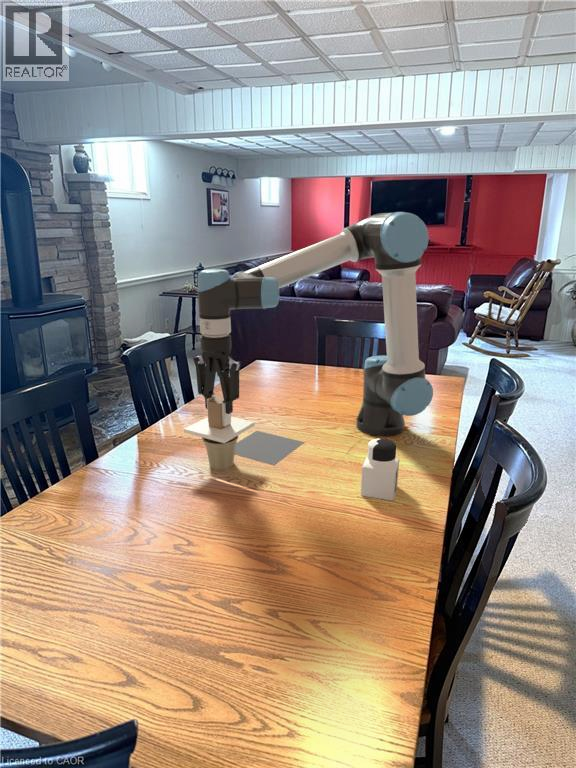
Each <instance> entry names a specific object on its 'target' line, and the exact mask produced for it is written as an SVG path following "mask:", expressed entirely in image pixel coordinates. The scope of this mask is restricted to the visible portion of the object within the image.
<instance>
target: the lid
mask: <svg viewBox="0 0 576 768" xmlns="http://www.w3.org/2000/svg"><path fill="white" fill-rule="evenodd" d="M222 401H224V398H223V397H221V396H216V397H215V398H213V399H211V400H209V401H208V411H207V417H205V418H203V419H201V420H198V421H196V422H195V423H193V424H191V425H189V426H186V427H184V428H183V433H184V434H187V435H192V436H195V437H200V438H202V437H203V438H207V439H210V440H214V441H218V442H221V443H226V442H228V441H229V440H231V439H233V438H234V437H236V436H238V437H239V435H241V434H243V433H244V432H247V431H248V430H250V429H251V428H253V427H255V421H253V420H252V421H251V420H248V419H242V418H239V417H234V416H231V423H230V424H229V425H227V426H223V424H222V403H221V402H222ZM208 420H209V423H208Z"/></svg>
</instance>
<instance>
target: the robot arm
mask: <svg viewBox="0 0 576 768" xmlns="http://www.w3.org/2000/svg"><path fill="white" fill-rule="evenodd" d="M429 239H430V238H429V231H428V227H427V225H426V223H425V222H424V221H423V220H422V219H421V218H420V217H419V216H418V215H416V214H414V213H411V212H406V211H395V212H380V213H376V214H373V215H370V216H368V217H366V218H365V219H362V220H360V221H358V222H355V223H353V224H351V225H349V226H346V227H344V228H342V229H341V232H340V234H336V235H334V236H331V237H329V238H327V239H324V240H321V241H319V242H317V243H314V244H312V245H308V246H307V247H304V248H301V249H298V250H296V251H293V252H291V253H289V254H285V255H283V256H281V257H279V258H275V259H274V260H271V261H269V262H265V263H263V264H261V265H259V266H256V267H253V268H250V269H248V270H241V271H238V272H235V273H234V274H233V275H232V276H231V277H230V272H229V271H228V270H226V269H217V268H214V269H212V268H211V269H203V270H200V271H199V272H198V273H197V290H196V291H197V302H198V314H199V316H198V318H199V333H200V334H201V335H200V336H199V339H200V350H201V351H202V352H201V355H197V356H194V357H193V359H192V360H193V363H194V366H195V373H196V383H197V384H196V386H197V393H198V395H202V396H203V398H204V405H205V409H206V410H207V412H208V401H209V400H211V399H213V398H215V397H217V396H215V394H216V393H215V392H214V391H215V390H214V388H215V381H216V375H217V376H218V378H219V383H220V387H221V393H222V396H223V397H222V398H224V401H222V402H221V403H222V424H223V426H227V425H229V424H230V423H231V417H232V413H233V410H234V408H233V407H234V405H233V404H234V401H236V400H238V399H240V370H241V367H242V362H241V361H235V360H234V359H233V357H232V354H231V350H232V336H231V332H232V325H231V324H232V322H231V320H232V319H231V310H244V309H245V310H250V309H263V310H266V309H269V308H270V309H271V308H275V307H277V306H278V304H279V301H280V289H281V288H284V287H286V286H289V285H291V284H294V283H297V282H299V281H301V280H304V279H306V278H309V277H311V276H314V275H317V274H319V273H321V272H324V271H327V270H329V269H331V268H334V267H336V266H339V265H341V264H343V263H346V262H349V261H351V262H353V263H356V262H359V261H360V260H361V261H362V260H366V259H372V258H374V264H375V271H376V272H378V273H379V274H380V275H381V281H382V282H381V283H382V284H381V285H382V296H383V297H382V298H383V299H382V301H383V302H382V303H383V314H384V316H383V317H384V329H385V332H384V333H385V345H386V346H385V347H386V355H375V356H374V355H373V356H370V357H367V358H366V359H365V361H364V368H363V391H362V404H361V407H360V409H359V411H358V414H357V417H356V422H355V426H356V429H358V430H359V431H360V432H361V433H365V434H367V435H370V436H371V435H372V436H378V437H389V436H390V437H391V436H396V435H400V434H402V433H403V432H404V431H405V425H406V424H405V423H406V422H405V417H406V416H407V417H412V416H416V415H419V414H420V413H423V412H424V411H425V410H426V408H427V407H428V406H429V405H430V404H431V402H432V400H433V396H434V388H433V386H432V384H431V382H430V381H429V380H428V379H426V366H425V363H424V362H423V361H421V360H420V358H419V357H420V354H419V353H420V352H419V329H418V327H419V326H418V309H417V308H418V307H417V303H418V302H417V283H416V282H417V281H416V280H417V279H416V273H417V270H419V268H420V267H421V266H422V256H423V255H424V252H425V251H426V250H427V248H428V245H429ZM404 416H405V417H404ZM208 423H209V420H208Z"/></svg>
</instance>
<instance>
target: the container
mask: <svg viewBox="0 0 576 768" xmlns="http://www.w3.org/2000/svg"><path fill="white" fill-rule="evenodd" d="M396 455H397V443H395V442H394V441H393V440H391V439H388V438H384V437H381V438H374V439H371V440H370V441H368V443H367V455H366V458H365V460H364V462H363V464H362V468H361V480H360V481H361V484H360V495H361V496H362V497H367V498H375V499H379V500H385V501H391V502H393V501H394V499H395V496H396V492H397V487H398V482H399V472H400V471H399V468H400V458H399V457H397V456H396Z"/></svg>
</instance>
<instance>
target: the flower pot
mask: <svg viewBox="0 0 576 768" xmlns="http://www.w3.org/2000/svg"><path fill="white" fill-rule="evenodd" d="M238 439H239V435H238V436H236V437H234V438H233V439H231V440H229V441H228V442H226V443H221V442H218V441H214V440H210V439H207V438H203V437H201V440H202V442H203V443H204V446H205V449H206V454H207V457H208V458H207V459H208V462H209V463H208V464H209V466H210V468H212V469H214V470H220V471H221V470H225V469H229V468H231V467H233V466H234V464H235V463H234V460H235V454H234V453H235V444H236V443H237V442H238Z"/></svg>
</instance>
